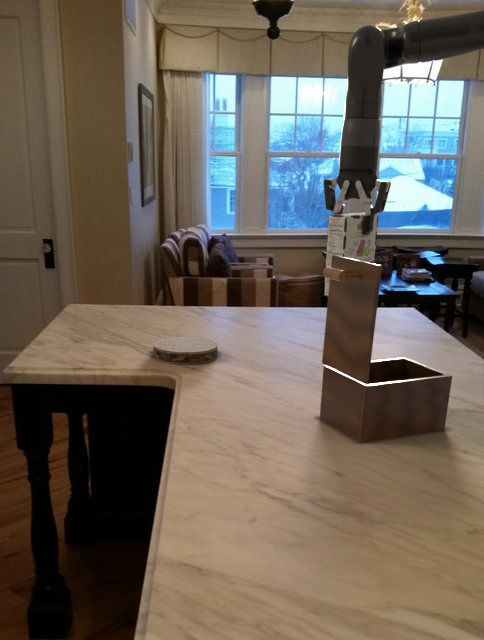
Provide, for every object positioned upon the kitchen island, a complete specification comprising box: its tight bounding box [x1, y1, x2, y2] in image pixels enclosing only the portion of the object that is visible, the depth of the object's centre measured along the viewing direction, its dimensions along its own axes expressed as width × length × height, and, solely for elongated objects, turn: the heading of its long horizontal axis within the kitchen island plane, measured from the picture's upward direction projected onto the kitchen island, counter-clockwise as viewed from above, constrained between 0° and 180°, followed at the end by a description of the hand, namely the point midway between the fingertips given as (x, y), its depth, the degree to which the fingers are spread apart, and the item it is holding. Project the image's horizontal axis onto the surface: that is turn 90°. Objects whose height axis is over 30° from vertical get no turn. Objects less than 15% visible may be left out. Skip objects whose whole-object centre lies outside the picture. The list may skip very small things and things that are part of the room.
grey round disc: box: [152, 336, 218, 365], centre depth 175 cm, size 16×16×3 cm
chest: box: [319, 357, 453, 444], centre depth 130 cm, size 19×14×11 cm
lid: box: [321, 255, 383, 384], centre depth 120 cm, size 19×14×5 cm
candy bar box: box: [323, 212, 379, 297], centre depth 146 cm, size 11×5×16 cm, turn 134°
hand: (352, 233), depth 145 cm, fingers closed on candy bar box, 5 cm apart
